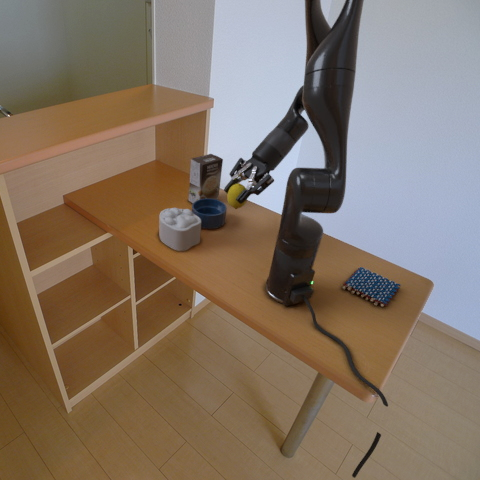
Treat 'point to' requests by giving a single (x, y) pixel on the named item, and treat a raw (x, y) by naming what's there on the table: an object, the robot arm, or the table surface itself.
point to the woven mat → (371, 286)
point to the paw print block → (179, 228)
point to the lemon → (235, 195)
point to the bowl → (210, 212)
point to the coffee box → (205, 177)
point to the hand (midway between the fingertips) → (232, 196)
